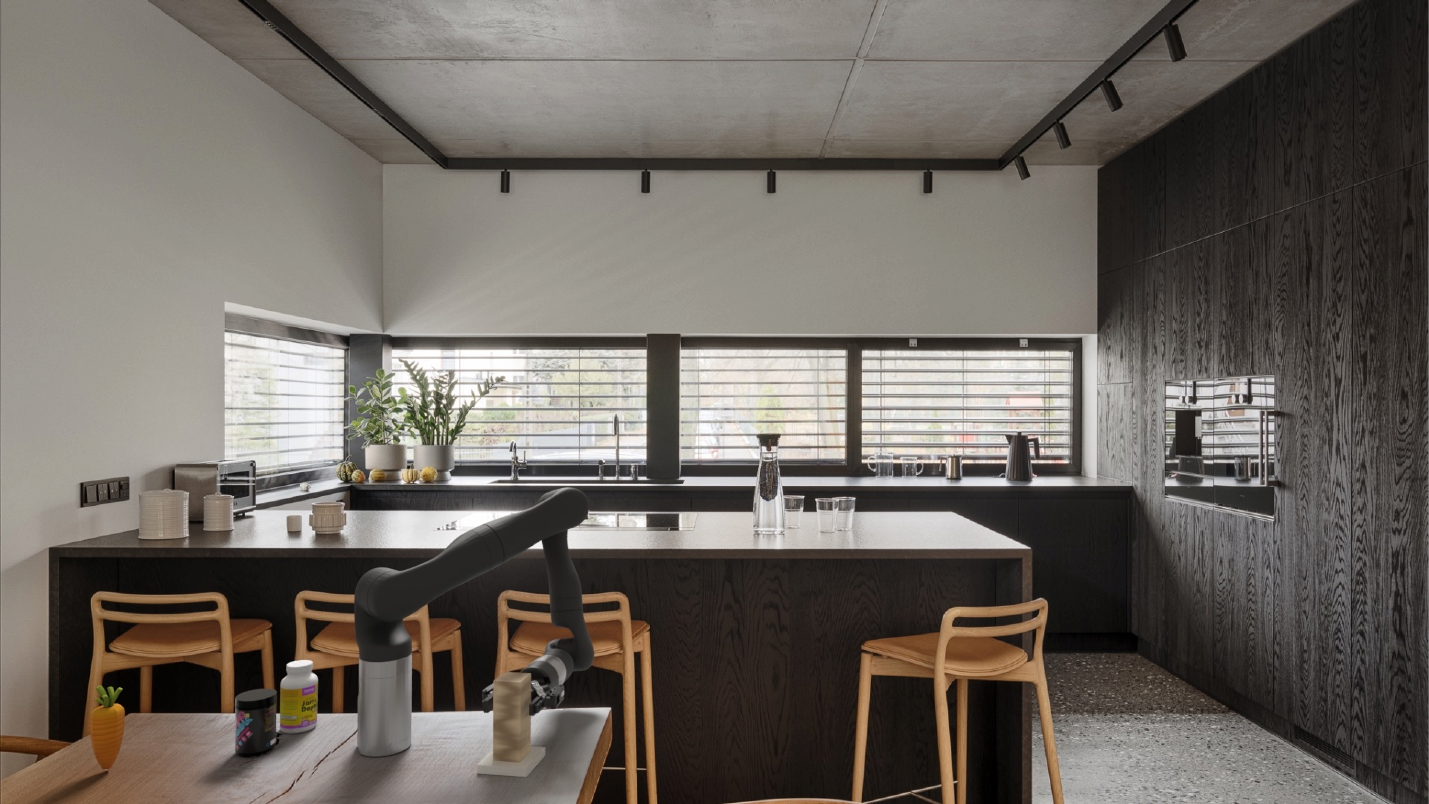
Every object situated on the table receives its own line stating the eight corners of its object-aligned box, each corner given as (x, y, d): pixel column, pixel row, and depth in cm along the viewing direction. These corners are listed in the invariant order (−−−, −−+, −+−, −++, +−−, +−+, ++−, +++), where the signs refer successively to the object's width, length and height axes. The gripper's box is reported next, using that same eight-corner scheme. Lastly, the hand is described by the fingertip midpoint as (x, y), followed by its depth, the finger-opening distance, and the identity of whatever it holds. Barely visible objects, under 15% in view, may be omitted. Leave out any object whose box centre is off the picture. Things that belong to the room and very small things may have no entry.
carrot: (131, 767, 143) (132, 682, 143) (101, 779, 138) (102, 691, 138) (111, 763, 144) (112, 679, 144) (81, 775, 140) (83, 688, 140)
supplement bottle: (301, 736, 157) (302, 669, 157) (271, 733, 158) (272, 667, 158) (324, 723, 163) (325, 659, 163) (296, 720, 165) (296, 657, 165)
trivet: (477, 773, 141) (477, 764, 141) (498, 752, 149) (498, 744, 150) (526, 777, 139) (526, 768, 139) (545, 755, 148) (545, 747, 148)
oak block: (492, 760, 142) (493, 680, 143) (504, 749, 147) (505, 671, 148) (519, 762, 142) (520, 682, 142) (530, 750, 147) (531, 673, 147)
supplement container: (241, 745, 152) (242, 690, 152) (280, 742, 154) (281, 687, 154) (229, 760, 146) (229, 702, 146) (270, 756, 147) (270, 699, 147)
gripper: (507, 658, 160) (470, 685, 144) (576, 661, 158) (546, 689, 142) (507, 696, 160) (469, 727, 144) (576, 700, 157) (546, 733, 141)
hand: (508, 709), depth 143 cm, fingers open, 8 cm apart
